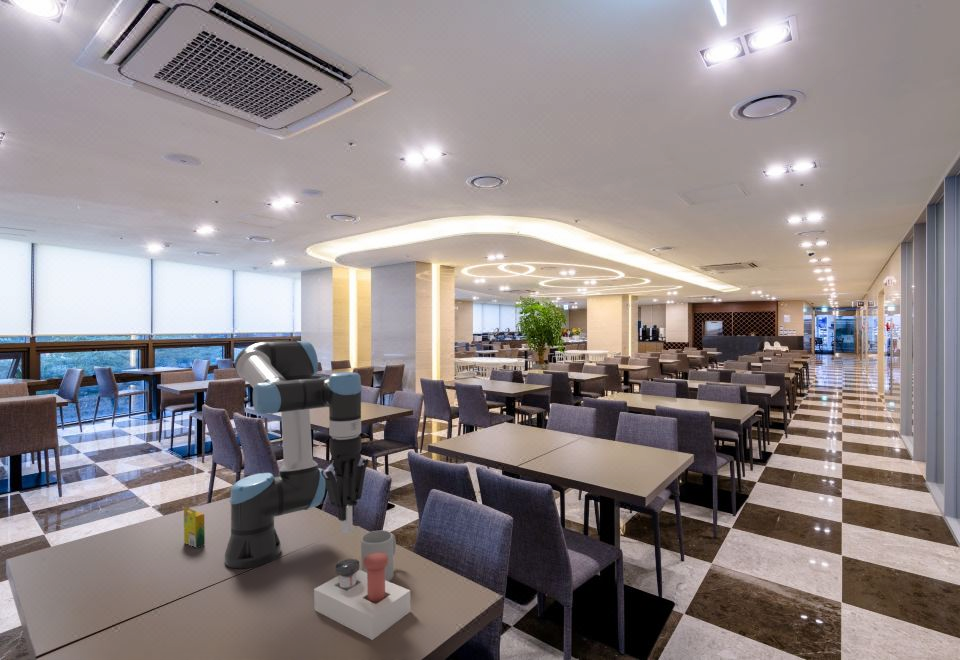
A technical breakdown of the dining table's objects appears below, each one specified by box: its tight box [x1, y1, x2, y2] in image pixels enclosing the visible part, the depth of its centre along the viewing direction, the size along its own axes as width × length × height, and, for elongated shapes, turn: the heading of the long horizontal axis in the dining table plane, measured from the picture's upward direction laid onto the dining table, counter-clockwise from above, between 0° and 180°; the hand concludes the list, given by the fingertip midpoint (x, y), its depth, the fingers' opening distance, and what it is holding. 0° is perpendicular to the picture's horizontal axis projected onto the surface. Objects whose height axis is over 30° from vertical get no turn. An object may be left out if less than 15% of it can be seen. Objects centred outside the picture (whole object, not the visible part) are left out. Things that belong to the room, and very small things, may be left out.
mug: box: [360, 529, 397, 582], centre depth 126 cm, size 12×8×11 cm
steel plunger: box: [335, 558, 360, 591], centre depth 112 cm, size 6×6×9 cm
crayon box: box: [183, 506, 206, 548], centre depth 146 cm, size 7×3×12 cm, turn 58°
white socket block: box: [313, 569, 412, 641], centre depth 109 cm, size 20×12×5 cm, turn 56°
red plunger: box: [364, 553, 388, 603], centre depth 106 cm, size 6×6×9 cm
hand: (346, 531), depth 112 cm, fingers closed
